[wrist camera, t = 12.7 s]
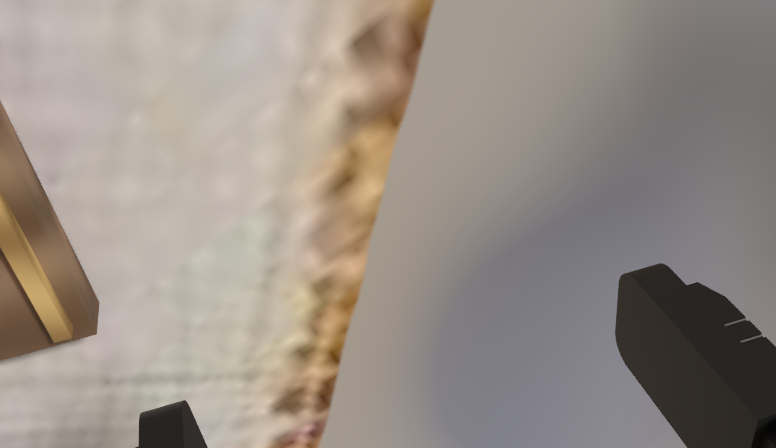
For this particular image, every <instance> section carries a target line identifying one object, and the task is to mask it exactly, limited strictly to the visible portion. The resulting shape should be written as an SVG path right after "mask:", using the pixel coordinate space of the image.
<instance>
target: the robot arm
mask: <svg viewBox="0 0 776 448" xmlns="http://www.w3.org/2000/svg"><path fill="white" fill-rule="evenodd" d="M615 334H616V342H617V346H618V349H619V352H620V354H621V356H622V359H623V360H624V362H625V364H626V366H627V367H628V368H629V370H630V371H631V372H632V374H633V375H634V376H635V378H636V379H637V380H638V382H639V383H640V384H641V386H642V387H643V388H644V390H645V391H646V393H647V394H648V395H649V396H650V398H651V399H652V401H653V402H654V403H655V405H656V406H657V407H658V409H659V410H660V411H661V413H662V414H663V415H664V417H665V418H666V419H667V421H668V422H669V423H670V425H671V426H672V427H673V429H674V430H675V431H676V433H677V434H678V436H679V437H680V438H681V440H682V441H683V442H684V444H685V445H686V446H687V448H776V347H775V346H774V345H773V344H772V343H771V342H770V341H769V340H768V339H767V338H766V337H765V338H764V337H763V336H762V333H761V332H760V331H759V330H758V329H757V328H756V327H755V326H754V325H753V324H752V323H751V322H750V321H746V318H745V316H744V315H743V314H742V313H741V312H740V311H739V310H738V309H737V308H736V307H735V306H734V305H733V304H732V303H731V302H730V301H729V300H728V299H727V298H726V297H725V296H723V295H721V294H719V293H717V292H715V291H713V290H711V289H709V288H708V287H705V286H704V285H702V284H700V283H698V282H697V283H693V284H690V285H685V283H684V282H683V281H682V280H681V279H680V278H679V277H678V276H677V275H676V274H675V273H674V272H673V271H672V270H671V269H670V268H669V267H668V266H666V265H665V264H656V265H653V266H649V267H646V268H642V269H639V270H636V271H633V272H629V273H625V274H623V275H621V277H620V280H619V289H618V303H617V316H616V330H615ZM136 448H208V447H207V445H206V443H205V441H204V438H203V436H202V434H201V432H200V429H199V427H198V425H197V423H196V420H195V418H194V416H193V414H192V411H191V409H190V407H189V405H188V403H187V402H186V401H185V400H184V401H180V402H177V403H173V404H170V405H167V406H163V407H160V408H156V409H153V410H149V411H146V412H142V413H141V414H140V418H139V447H136Z"/></svg>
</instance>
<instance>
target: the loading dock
mask: <svg viewBox="0 0 776 448" xmlns="http://www.w3.org/2000/svg"><path fill="white" fill-rule="evenodd" d="M98 312H99V301H98V299H97V297H96V295H95V293H94V291H93V289H92V287H91V285H90V283H89V281H88V279H87V277H86V275H85V273H84V271H83V268H82V266H81V264H80V262H79V260H78V258H77V256H76V254H75V252H74V250H73V248H72V246H71V244H70V242H69V240H68V238H67V236H66V234H65V232H64V230H63V228H62V226H61V224H60V222H59V220H58V217H57V215H56V213H55V211H54V209H53V207H52V205H51V203H50V201H49V199H48V197H47V195H46V193H45V191H44V189H43V187H42V185H41V183H40V181H39V179H38V177H37V175H36V173H35V171H34V169H33V167H32V164H31V162H30V160H29V158H28V156H27V154H26V152H25V150H24V148H23V146H22V144H21V142H20V140H19V138H18V136H17V134H16V132H15V130H14V128H13V126H12V124H11V122H10V120H9V118H8V116H7V114H6V111H5V109H4V107H3V105H2V103H1V101H0V360H4V359H8V358H11V357H15V356H19V355H22V354H26V353H30V352H33V351H37V350H41V349H44V348H48V347H52V346H55V345H59V344H62V343H66V342H70V341H73V340H77V339H81V338H84V337H88V336H92V335H95V334H97V324H98Z"/></svg>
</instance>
